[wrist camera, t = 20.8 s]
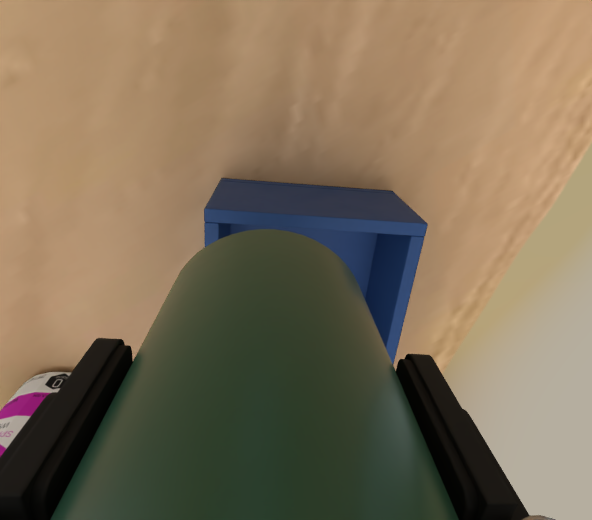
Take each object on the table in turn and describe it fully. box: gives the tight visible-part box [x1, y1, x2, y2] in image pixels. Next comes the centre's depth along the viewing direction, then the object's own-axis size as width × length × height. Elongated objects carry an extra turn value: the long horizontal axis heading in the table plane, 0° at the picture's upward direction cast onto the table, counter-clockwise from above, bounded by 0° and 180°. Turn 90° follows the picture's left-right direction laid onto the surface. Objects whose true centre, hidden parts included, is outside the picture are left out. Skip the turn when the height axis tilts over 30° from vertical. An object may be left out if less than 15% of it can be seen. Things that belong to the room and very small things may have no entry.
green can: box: [50, 229, 459, 520], centre depth 8 cm, size 7×7×11 cm
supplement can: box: [0, 372, 72, 457], centre depth 29 cm, size 8×8×15 cm
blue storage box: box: [204, 178, 427, 364], centre depth 29 cm, size 19×13×7 cm
